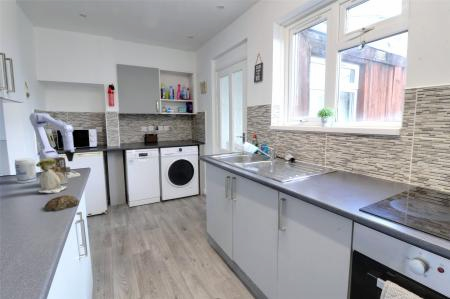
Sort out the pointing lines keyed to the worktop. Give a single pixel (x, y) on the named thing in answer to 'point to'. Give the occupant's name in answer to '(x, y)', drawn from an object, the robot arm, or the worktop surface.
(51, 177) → the off-white lumpy piece
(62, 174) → the coffee box
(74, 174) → the panel
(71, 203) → the bread roll
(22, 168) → the supplement tub
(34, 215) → the worktop surface
